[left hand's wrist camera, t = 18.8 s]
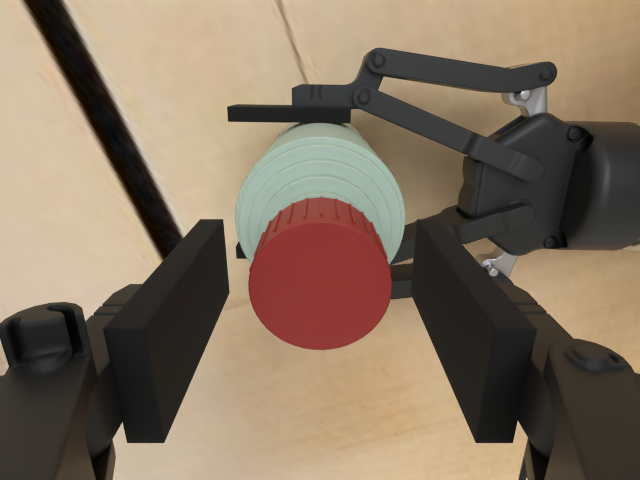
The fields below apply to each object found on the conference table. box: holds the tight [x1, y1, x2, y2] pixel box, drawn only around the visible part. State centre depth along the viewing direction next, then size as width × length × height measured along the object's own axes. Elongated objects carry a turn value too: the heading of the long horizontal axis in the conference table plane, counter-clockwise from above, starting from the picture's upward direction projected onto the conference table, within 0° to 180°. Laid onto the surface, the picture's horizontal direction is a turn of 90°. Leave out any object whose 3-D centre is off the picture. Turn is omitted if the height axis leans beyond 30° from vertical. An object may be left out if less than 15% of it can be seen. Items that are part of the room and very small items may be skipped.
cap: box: [249, 196, 392, 350], centre depth 13 cm, size 4×4×3 cm
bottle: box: [235, 122, 405, 264], centre depth 22 cm, size 7×7×20 cm
